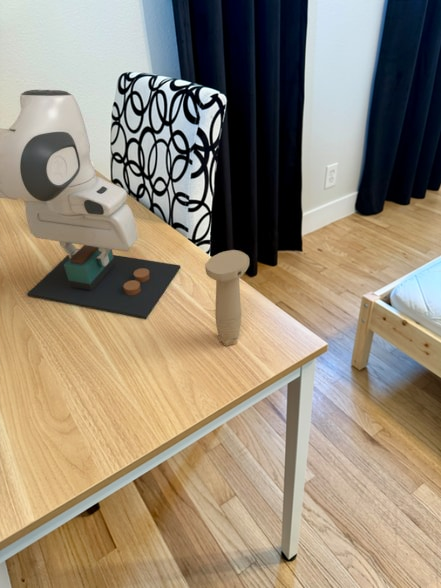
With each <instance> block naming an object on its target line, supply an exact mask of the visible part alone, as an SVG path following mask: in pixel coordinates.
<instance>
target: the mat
mask: <svg viewBox="0 0 441 588" xmlns="http://www.w3.org/2000/svg"><path fill="white" fill-rule="evenodd" d="M77 249H78V250H80V249H81V248H77ZM113 257H114V261H115V265H114V266H113V267H112V268H111V269H110V270H109V272H108V273H107V274H106V275H105V276H104V277H103V278H102V280H101V281H100V282H99V283H98V284H97V285H96V286H95V287H94V289H93V290H92V291H91V290H85V289H80V288H74V287H70V283H69V280H68V277H67V273H66V270H65V267H64V264H65V263H66V262H67V261H68V260H69V259H70V258H69V255H68V254H67V255H66V256H65V257H64V258H63V259H62V260H61V261H59V263H58V264H57V265H56V266H54V267H53V268H52V269H51V270H50V271H49V272H48V273H47V274H45V276H44V277H43V278H42V279H41V280H40V281H39V282H37V283H36V284H35V285H34V286H33V287H32V288H31V289H30V290H28V292H27V293H26V295H27V297H32V298H36V299H41V300H45V301H46V300H47V301H52V302H56V303H57V302H58V303H62V304H65V305H66V304H67V305H72V306H77V307H81V308H87V309H94V310H97V311H98V310H99V311H103V312H108V313H113V314H117V315H118V314H119V315H124V316H129V317H134V318H138V319H145V320H147V319H148V317H149V316H150V314H151V313H152V311H153V309H154V308H155V306H157V304H158V302H159V300H160V299H162V298H161V297H162V296H163V295H164V293H165V292H166V290H167V288H168V287H169V286H170V284H171V283H172V281H173V280H174V278H175V277H176V275H177V273H178V272H179V271H180V269H181V265H179V264H175V263H174V264H173V263H168V262H162V261H155V260H149V259H143V258H135V257H130V256H123V255H117V254H113ZM140 268H145V269H148V270H149V273H150V279H149V280H147V281H145V282H139V283H140V287H141V291H140V292H139V293H138V294H135V295H127V294H126V293H125V292H124V287H123V286H124V284H125V283H126V282H128V281H131V280H134V275H133V273H134V271H135V270H137V269H140Z"/></svg>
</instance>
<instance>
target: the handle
mask: <svg viewBox="0 0 441 588" xmlns="http://www.w3.org/2000/svg"><path fill="white" fill-rule="evenodd" d="M249 267H250V257H249V255H248V254H246V253H245V252H243V251H242V250H236V249H230V250H225V251H222V252H219V253H217V254H215V255H213V256H211V257H210V258H209V259H207V261H206V262H205V264H204V268H205V274H206V275H207V276H208V277H209V278H210V279H212V280H214V281H215V282H216V283H215V307H214V308H215V309H214V310H215V311H214V313H215V314H214V315H215V326H216V330H217V331H216V332H217V336H218V338H217V339H218V341H219V342H220V343H222V344H223V345H224V346H226V347H227V346H230V345H232V346H233V345H236V344H237V343H238V339H239V337H240V331H241V326H242V301H241V288H240V278H242V276H243V275H245V273H246V272H247V270H248V269H249Z"/></svg>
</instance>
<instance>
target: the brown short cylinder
mask: <svg viewBox="0 0 441 588" xmlns="http://www.w3.org/2000/svg"><path fill="white" fill-rule="evenodd" d="M123 287H124V292H125V293H126V294H127V295H135V294H138V293H139V292H140V291H141V287H140V283H139V282H138V281H135V280H131V281H128V282H126V283H125V284H124V286H123Z"/></svg>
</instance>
